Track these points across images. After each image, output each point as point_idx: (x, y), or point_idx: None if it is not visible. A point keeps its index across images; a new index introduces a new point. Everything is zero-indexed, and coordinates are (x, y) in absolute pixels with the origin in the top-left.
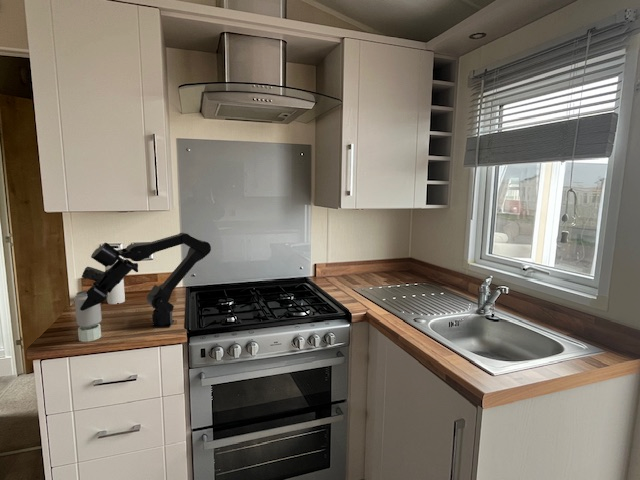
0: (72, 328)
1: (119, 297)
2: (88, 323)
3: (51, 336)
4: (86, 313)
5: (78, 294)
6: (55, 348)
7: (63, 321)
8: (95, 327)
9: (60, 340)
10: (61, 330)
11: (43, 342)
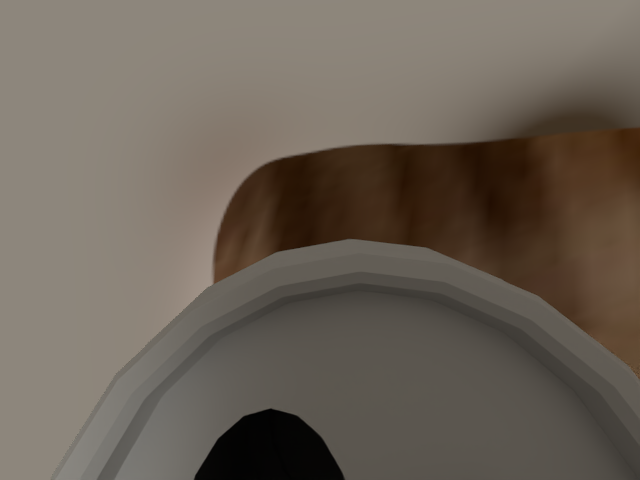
0: (518, 232)
1: None
2: (245, 447)
3: (402, 172)
4: (208, 466)
5: (151, 367)
6: (224, 255)
7: (637, 143)
8: None
9: (333, 237)
10: (488, 186)
11: (324, 169)
